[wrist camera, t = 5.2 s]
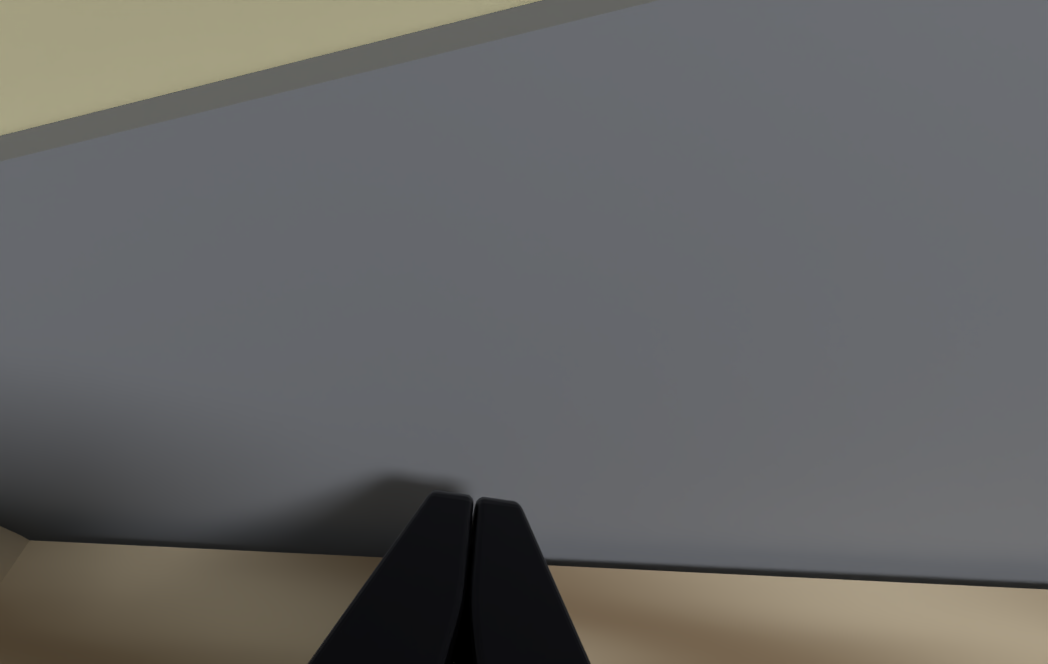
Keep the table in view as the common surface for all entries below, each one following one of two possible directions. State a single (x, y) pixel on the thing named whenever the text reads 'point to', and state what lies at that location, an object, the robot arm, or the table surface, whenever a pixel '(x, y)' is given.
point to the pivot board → (556, 294)
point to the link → (588, 593)
